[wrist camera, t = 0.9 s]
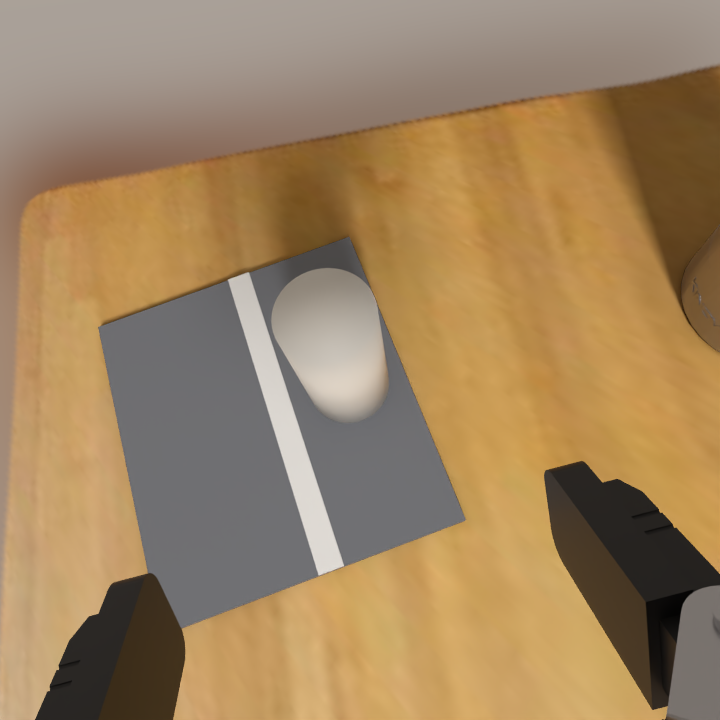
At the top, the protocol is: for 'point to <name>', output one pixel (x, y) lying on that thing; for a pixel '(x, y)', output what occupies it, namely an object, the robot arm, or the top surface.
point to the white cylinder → (333, 342)
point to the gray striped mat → (259, 449)
